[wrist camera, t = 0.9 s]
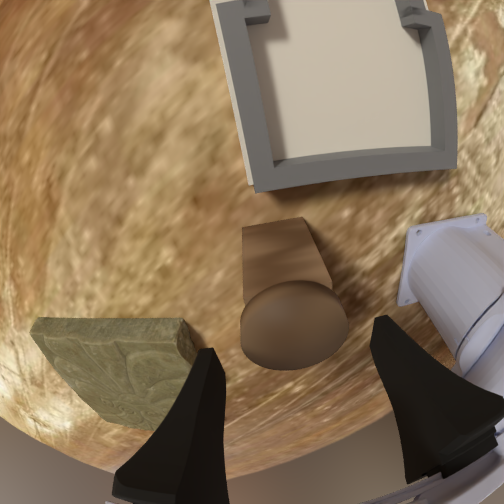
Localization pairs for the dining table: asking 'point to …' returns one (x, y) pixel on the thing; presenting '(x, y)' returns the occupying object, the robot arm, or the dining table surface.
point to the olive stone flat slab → (120, 363)
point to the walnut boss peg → (288, 298)
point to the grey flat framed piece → (337, 88)
